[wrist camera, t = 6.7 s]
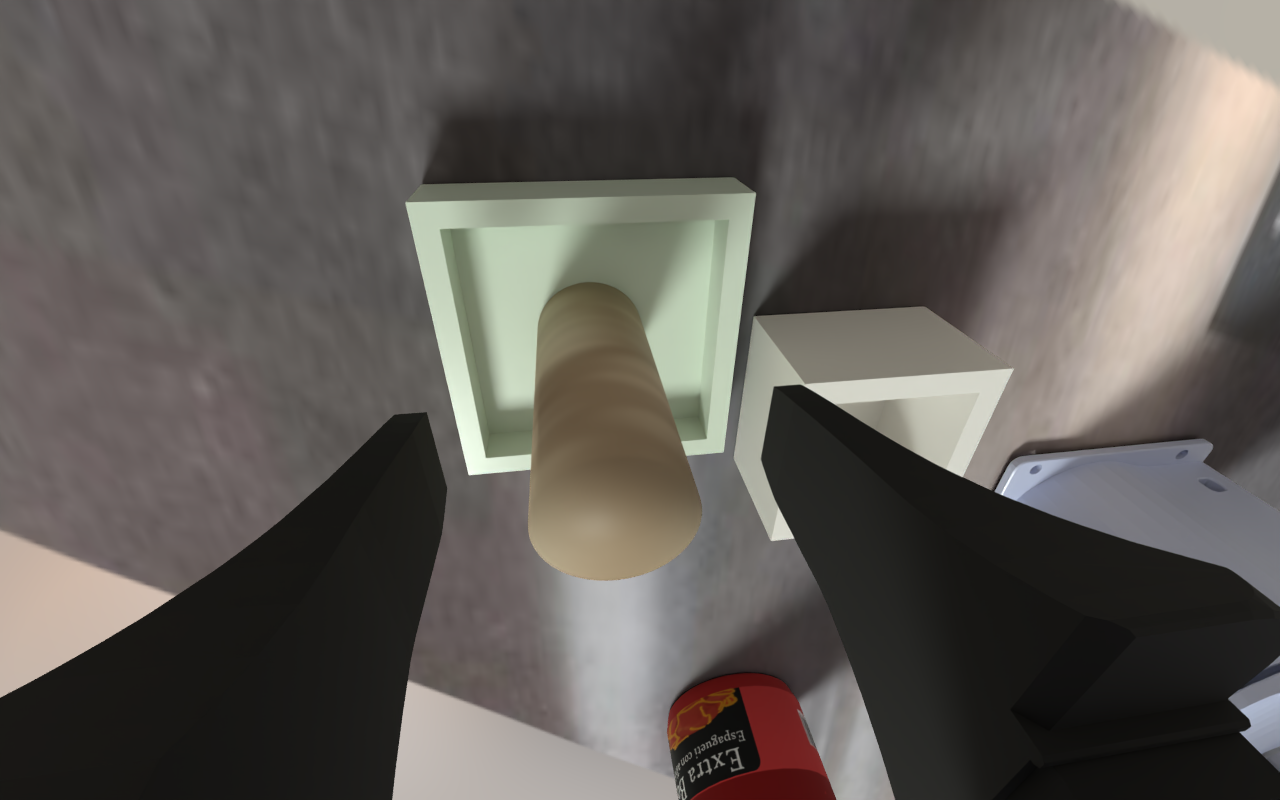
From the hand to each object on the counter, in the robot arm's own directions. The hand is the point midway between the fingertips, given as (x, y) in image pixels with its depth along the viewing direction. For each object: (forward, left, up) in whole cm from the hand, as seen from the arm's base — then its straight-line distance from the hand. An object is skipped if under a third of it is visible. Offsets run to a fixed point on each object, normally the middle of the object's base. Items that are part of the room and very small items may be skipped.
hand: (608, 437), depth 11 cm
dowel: (0, 0, -5) cm, 5 cm away
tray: (0, 0, -6) cm, 6 cm away
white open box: (-8, +3, -6) cm, 10 cm away
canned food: (-7, +25, -6) cm, 27 cm away
